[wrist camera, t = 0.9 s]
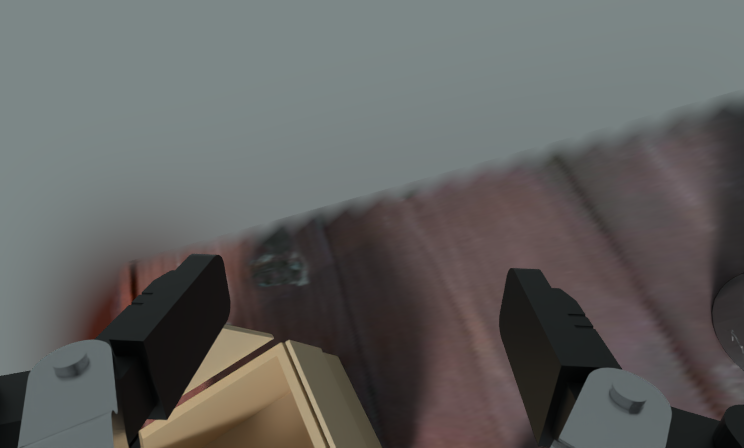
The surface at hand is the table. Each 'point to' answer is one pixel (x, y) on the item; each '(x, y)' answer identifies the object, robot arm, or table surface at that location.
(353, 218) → the table surface
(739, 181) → the table surface
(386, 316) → the table surface
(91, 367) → the robot arm
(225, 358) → the near flap
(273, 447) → the kraft box
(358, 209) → the table surface
